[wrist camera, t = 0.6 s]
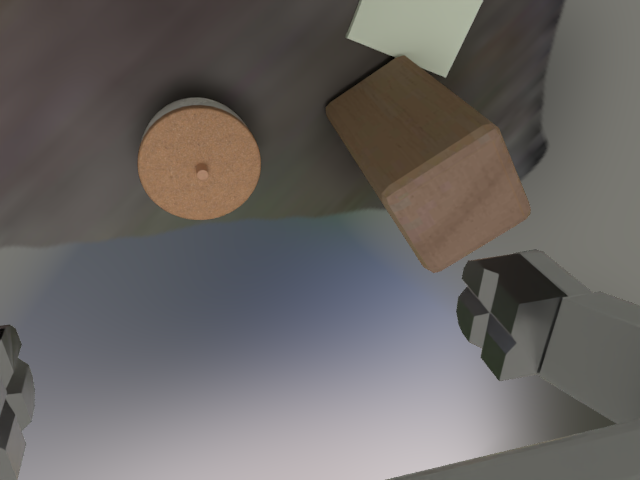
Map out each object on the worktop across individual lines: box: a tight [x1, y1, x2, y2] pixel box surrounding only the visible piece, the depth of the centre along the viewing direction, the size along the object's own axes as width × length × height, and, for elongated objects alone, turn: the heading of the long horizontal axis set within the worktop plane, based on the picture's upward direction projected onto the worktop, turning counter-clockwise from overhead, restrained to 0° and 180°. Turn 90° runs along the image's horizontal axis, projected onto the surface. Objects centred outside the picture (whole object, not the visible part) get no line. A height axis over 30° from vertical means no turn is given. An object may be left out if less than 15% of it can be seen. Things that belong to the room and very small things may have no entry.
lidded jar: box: [138, 97, 261, 220], centre depth 50 cm, size 11×11×9 cm
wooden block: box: [326, 55, 531, 273], centre depth 49 cm, size 10×10×20 cm
